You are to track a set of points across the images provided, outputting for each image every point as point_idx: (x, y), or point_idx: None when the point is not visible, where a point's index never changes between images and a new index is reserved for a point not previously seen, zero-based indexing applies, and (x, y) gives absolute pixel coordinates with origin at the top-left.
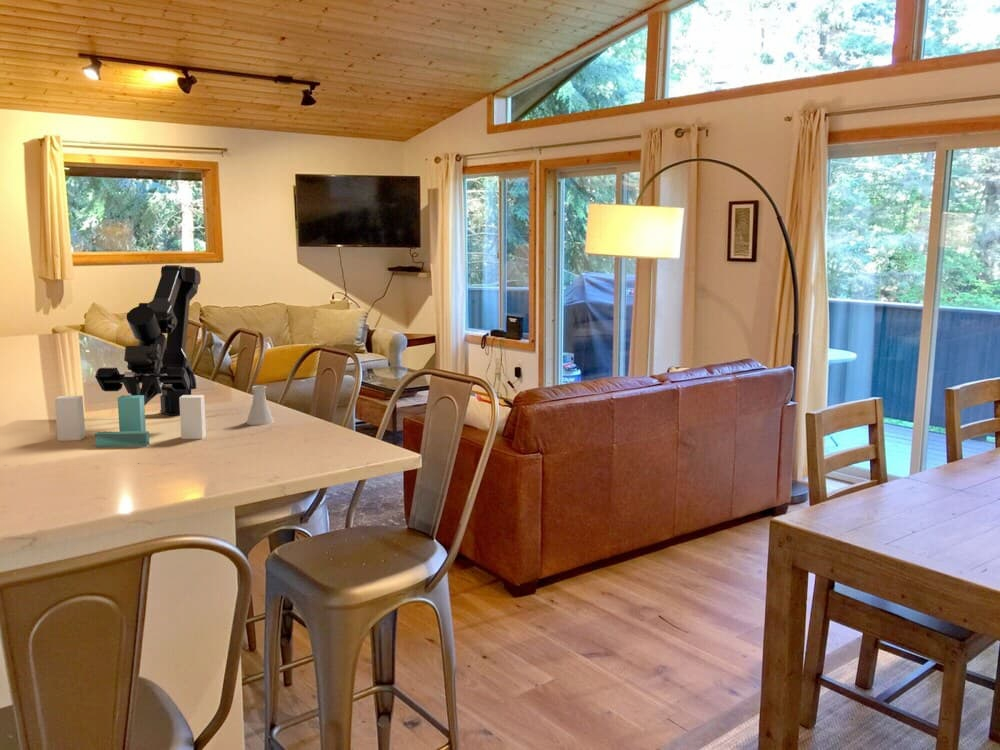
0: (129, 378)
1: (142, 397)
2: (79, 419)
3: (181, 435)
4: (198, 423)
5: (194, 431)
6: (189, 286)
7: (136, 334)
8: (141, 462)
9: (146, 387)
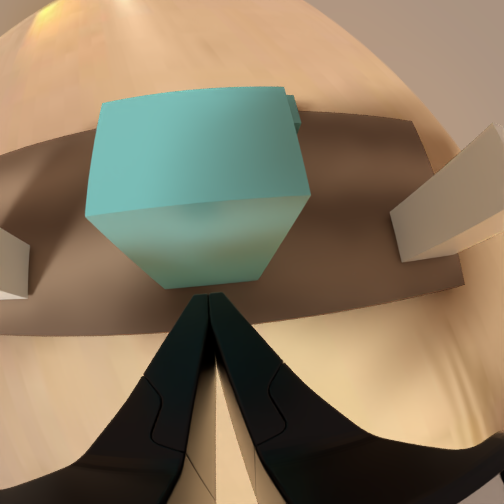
0: (432, 485)
1: (94, 180)
2: (434, 187)
3: (21, 242)
4: None
5: None
6: None
7: None
8: (120, 84)
9: (115, 456)
